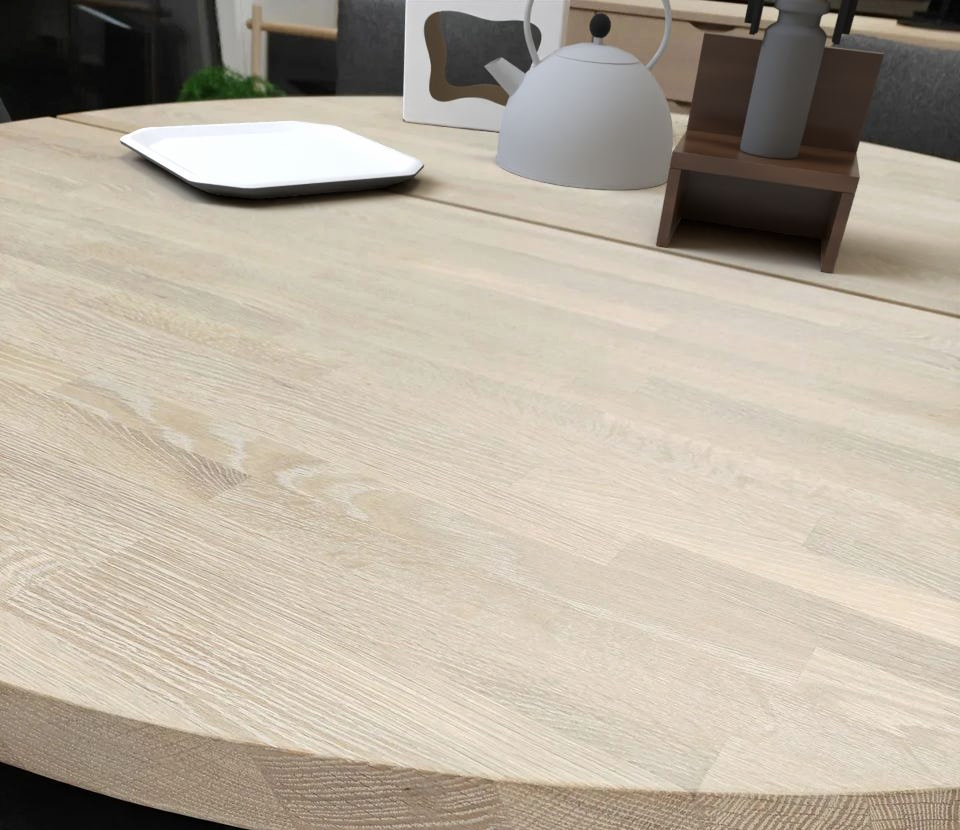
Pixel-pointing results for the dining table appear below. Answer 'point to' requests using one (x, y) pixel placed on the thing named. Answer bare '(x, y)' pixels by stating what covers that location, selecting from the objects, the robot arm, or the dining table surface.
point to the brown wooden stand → (768, 181)
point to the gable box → (428, 57)
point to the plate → (272, 158)
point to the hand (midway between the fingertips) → (794, 36)
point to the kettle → (586, 114)
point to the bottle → (785, 79)
